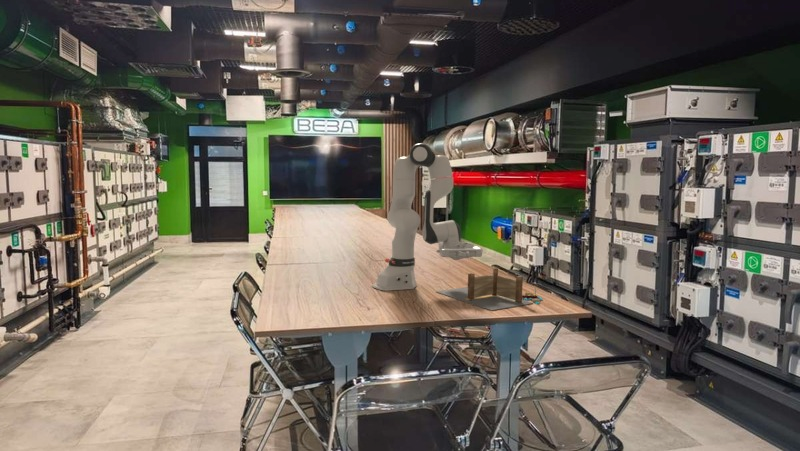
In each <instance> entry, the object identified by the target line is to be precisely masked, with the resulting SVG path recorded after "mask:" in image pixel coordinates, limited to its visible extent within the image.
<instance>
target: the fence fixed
mask: <svg viewBox="0 0 800 451" xmlns="http://www.w3.org/2000/svg"><path fill="white" fill-rule="evenodd" d="M492 275H494V279H493V294H492V295H493V296H497V295H498V296H502V297H505V298H508V299H512V300H515V302H517V303H522V300H523V298H522V295H523V282H524V280H523V279H524V276H522V275H516V276H515V279H514V278H509V277H507V276H503V275H499V268H496V267H493V268H492Z"/></svg>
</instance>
